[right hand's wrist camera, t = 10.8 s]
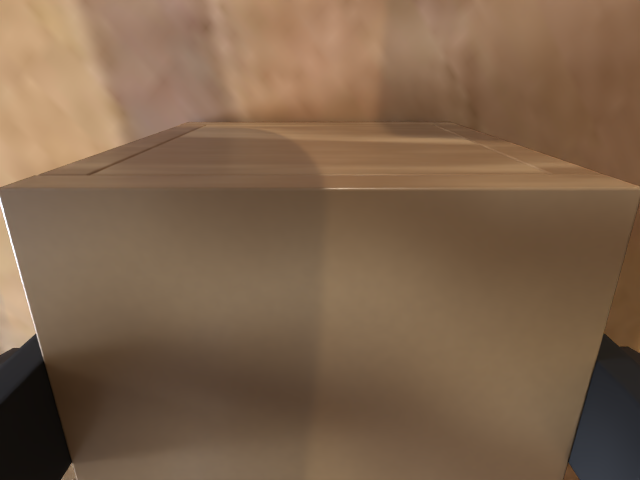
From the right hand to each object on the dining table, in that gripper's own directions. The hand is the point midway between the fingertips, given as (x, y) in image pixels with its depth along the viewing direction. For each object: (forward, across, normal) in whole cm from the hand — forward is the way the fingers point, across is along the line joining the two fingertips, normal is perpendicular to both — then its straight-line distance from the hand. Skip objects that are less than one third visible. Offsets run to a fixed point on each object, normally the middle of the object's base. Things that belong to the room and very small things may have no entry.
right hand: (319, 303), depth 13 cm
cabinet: (+7, 0, -6) cm, 9 cm away
